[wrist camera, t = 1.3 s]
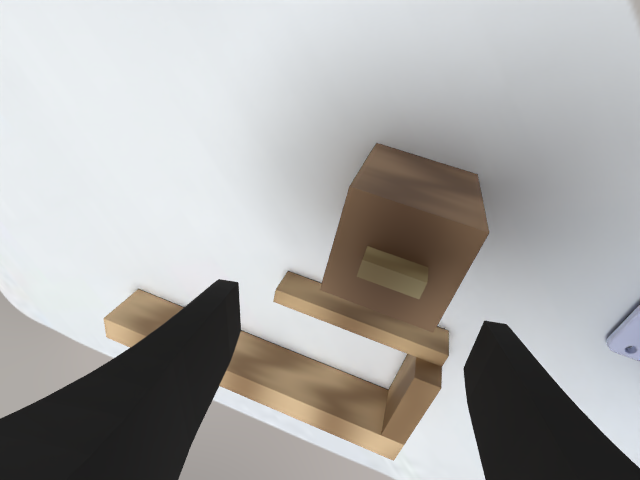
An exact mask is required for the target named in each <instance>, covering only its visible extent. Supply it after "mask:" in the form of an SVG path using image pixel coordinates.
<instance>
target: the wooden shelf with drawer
mask: <svg viewBox="0 0 640 480" xmlns="http://www.w3.org/2000/svg"><path fill="white" fill-rule="evenodd" d="M320 288H321V283H318V282H316V281H313V280H310V279H308V278H305V277H302V276H300V275H297V274H294V273H292V272H289V271H288V272H287V273H286V275H285V276H284V278H283V279H282V281H281V282H280V284H279V285H278V287H277V288H276V291H275V296H274V301H273V302H276V303H278V304H281V305H283V306H286V307H288V308H291V309H294V310H296V311H299V312H301V313H304V314H307V315H309V316H312V317H314V318H317V319H319V320H322V321H325V322H327V323H330V324H332V325H335V326H338V327H340V328H343V329H345V330H348V331H350V332H353V333H356V334H358V335H361V336H363V337H366V338H369V339H371V340H374V341H376V342H379V343H381V344H384V345H387V346H389V347H392V348H394V349H397V350H400V351H402V352H405V353H407V356H406V358H405V360H404V362H403V364H402V366H401V367H400V369H399V371H398V373H397V375H396V377H395V379H394V381H393V383H392V384H391V386H390V388H389V390H387V389H384V388H382V387H379V386H377V385H374V384H372V383H369V382H367V381H364V380H362V379H360V378H357V377H355V376H352V375H350V374H347V373H345V372H342V371H340V370H337V369H335V368H332V367H330V366H327V365H325V364H322V363H320V362H317V361H315V360H312V359H310V358H308V357H305V356H303V355H300V354H298V353H295V352H293V351H290V350H288V349H285V348H283V347H280V346H278V345H275V344H273V343H270V342H268V341H265V340H263V339H260V338H258V337H256V336H253V335H251V334H248V333H246V332H243V331H241V332H240V335H239V338H238V341H237V344H236V348H235V350H234V353H233V356H232V359H231V362H230V364H229V366H228V368H227V370H226V372H225V375H224V377H223V379H222V381H221V383H220V385H219V386H221V387H223V388H226V389H228V390H230V391H233V392H235V393H237V394H240V395H242V396H244V397H247V398H249V399H251V400H254V401H256V402H258V403H261V404H263V405H265V406H268V407H270V408H272V409H275V410H277V411H279V412H282V413H284V414H286V415H289V416H291V417H293V418H296V419H298V420H300V421H303V422H305V423H307V424H310V425H312V426H314V427H316V428H319V429H321V430H323V431H326V432H328V433H330V434H333V435H335V436H337V437H340V438H342V439H344V440H347V441H349V442H351V443H354V444H356V445H358V446H361V447H363V448H365V449H368V450H370V451H372V452H375V453H377V454H379V455H382V456H384V457H386V458H389V459H391V460H393V461H394V459H395V458H396V456H397V455H398V453H399V452H400V450H401V449H402V447H403V446H404V444H405V443H406V441H407V440H408V438H409V437H410V435H411V434H412V432H413V431H414V429H415V427H416V426H417V424H418V423H419V421H420V420H421V418H422V417H423V415H424V414H425V412H426V411H427V409H428V408H429V406H430V405H431V403H432V402H433V400H434V399H435V397H436V396H437V394H438V392H439V391H440V389H441V380H442V366H443V364H444V362H445V361H446V359H447V358H448V356H449V331H447V330H445V329H442V328H439V327H436V329H435V330H434V332H433V333H432V332H430V331H427V330H424V329H422V328H419V327H416V326H414V325H411V324H408V323H406V322H403V321H401V320H398V319H395V318H393V317H390V316H387V315H385V314H382V313H379V312H377V311H374V310H371V309H369V308H366V307H363V306H361V305H358V304H355V303H353V302H350V301H347V300H345V299H342V298H339V297H337V296H334V295H331V294H329V293H326V292H323V291H321V290H320ZM183 308H184V307H181V306H179V305H176V304H174V303H171V302H169V301H166V300H164V299H161V298H159V297H156V296H154V295H151V294H149V293H147V292H144V291H142V290H139V289H138V290H137V291H135V292H134V293H133V294H132V295H131V296H130V297H128V298H127V299H126V300H125V301H124V302H122V303H121V304H120V305H119V306H118V307H116V308H115V309H114V310H113V311H112V312H111V313H109V314H108V315H107V316H106V317H105V318H104V324H105V331H106V337H107V338H109V339H112V340H114V341H116V342H119V343H121V344H123V345H126V346H128V347H130V348H131V347H132V346H133V345H135V344H136V343H138V342H139V341H140V340H142V339H143V338H145V337H146V336H147V335H149V334H150V333H152V332H153V331H154V330H156V329H157V328H159V327H160V326H161V325H163V324H164V323H165V322H166V321H168V320H169V319H170V318H171V317H173V316H174V315H175V314H177V313H178V312H179V311H180V310H182V309H183Z"/></svg>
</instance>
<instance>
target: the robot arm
mask: <svg viewBox="0 0 640 480" xmlns="http://www.w3.org/2000/svg"><path fill="white" fill-rule="evenodd" d="M240 332H241V323H240V305H239V286H238V282H233V281H226V280H220V279H219V280H217V281H216V282H215V283H213V284H212V285H211V286H210V287H208V288H207V289H206V290H205V291H204V292H202V293H201V294H200V295H199V296H198V297H196V298H195V299H194V300H193V301H191V302H190V303H189V304H188V305H187V306H185V307H184V308H183V309H182V310H180V311H179V312H178V313H177V314H175V315H174V316H173V317H171V318H170V319H169V320H168V321H166V322H165V323H164V324H163V325H161V326H160V327H159V328H157V329H156V330H154V331H153V332H152V333H150V334H149V335H147V336H146V337H145V338H143V339H142V340H140V341H139V342H138V343H136V344H135V345H133V346H132V347H131V348H129V349H128V350H126V351H125V352H123V353H122V354H120V355H119V356H117V357H115V358H114V359H112V360H111V361H109V362H108V363H106V364H104V365H103V366H101V367H99V368H98V369H96V370H94V371H93V372H91V373H89V374H87V375H86V376H84V377H82V378H80V379H78V380H76V381H75V382H73V383H71V384H69V385H67V386H65V387H64V388H62V389H60V390H58V391H56V392H54V393H52V394H51V395H49V396H47V397H45V398H43V399H41V400H39V401H37V402H35V403H33V404H31V405H29V406H27V407H25V408H22V409H20V410H18V411H16V412H14V413H12V414H10V415H8V416H5V417H3V418H1V419H0V480H178V479H179V476H180V473H181V471H182V468H183V465H184V463H185V460H186V457H187V455H188V452H189V449H190V447H191V444H192V442H193V440H194V437H195V435H196V433H197V431H198V429H199V427H200V424H201V422H202V420H203V418H204V416H205V414H206V412H207V410H208V408H209V406H210V404H211V402H212V400H213V398H214V395H215V393H216V391H217V389H218V387H219V385H220V383H221V381H222V379H223V377H224V375H225V372H226V370H227V368H228V366H229V364H230V362H231V359H232V356H233V353H234V350H235V348H236V344H237V341H238V338H239V335H240ZM606 343H607V345H608V347H609V349H610V350H611V351H613V352H615V353H618V354H621V355H624V356H627V357H629V358H632V359H635V360H638V361H640V305H639V306H638V307H637V308H636V309H635V310H634V311H633V312H632V313H631V314H630V315H629V316H628V317H627V318H626V319H625V320H624V322H623V323H622V324H621V325H620V326H619V327H618V328H617V329H616V330H615V331H614V332H613V333H612V334H611V335H610V336H609V337H608V339H607V340H606ZM628 346H633V347H631V348H626V347H628ZM464 378H465V388H466V396H467V404H468V408H469V413H470V417H471V421H472V425H473V430H474V434H475V438H476V442H477V446H478V450H479V455H480V459H481V463H482V467H483V471H484V475H485V479H486V480H640V468H639V467H638V466H637V465H636V464H635V463H633V462H632V461H631V460H630V459H629V458H628V457H627V456H626V455H625V454H624V453H623V452H622V451H621V450H620V449H619V448H618V447H616V446H615V445H614V444H613V443H612V442H611V441H610V440H609V439H608V438H607V437H606V436H605V435H604V434H603V433H602V432H601V431H600V430H599V428H598V427H597V426H596V425H595V424H594V423H593V422H592V421H591V420H590V419H589V418H588V417H587V416H586V415H585V414H584V413H583V412H582V411H581V410H580V409H579V407H578V406H577V405H576V404H575V403H574V402H573V401H572V400H571V399H570V398H569V397H568V395H567V394H566V393H565V392H564V391H563V390H562V389H561V388H560V386H559V385H558V384H557V383H556V382H555V381H554V380H553V378H552V377H551V376H550V375H549V374H548V373H547V371H546V370H545V369H544V368H543V367H542V366H541V364H540V363H539V362H538V361H537V360H536V358H535V357H534V356H533V355H532V354H531V352H530V351H529V350H528V349H527V348H526V346H525V345H524V344H523V343H522V342H521V340H520V339H519V338H518V337H517V336H516V334H515V333H514V332H513V331H512V330H511V329H510V328H509V326H508V325H507V324H502V323H496V322H489V321H484V323H483V325H482V327H481V330H480V332H479V334H478V336H477V339H476V341H475V343H474V346H473V348H472V350H471V352H470V355H469V357H468V359H467V361H466V364H465V366H464Z"/></svg>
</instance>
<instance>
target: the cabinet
mask: <svg viewBox="0 0 640 480" xmlns="http://www.w3.org/2000/svg"><path fill="white" fill-rule="evenodd" d="M488 234H489V229H488V224H487V219H486V214H485V209H484V204H483V199H482V194H481V189H480V184H479V179H478V174H475V173H471V172H468V171H465V170H462V169H459V168H455V167H452V166H449V165H446V164H443V163H439V162H436V161H433V160H430V159H426V158H423V157H420V156H417V155H414V154H410V153H407V152H404V151H401V150H398V149H394V148H391V147H388V146H385V145H382V144H378V143H376V145H375V146H374V148H373V149H372V151H371V153H370V154H369V156H368V158H367V159H366V161H365V162H364V164H363V166H362V167H361V169H360V170H359V172H358V174H357V175H356V177H355V178H354V180H353V182H352V183H351V185H350V186H349V190H348V193H347V197H346V200H345V204H344V207H343V211H342V214H341V218H340V221H339V225H338V228H337V232H336V235H335V239H334V242H333V246H332V249H331V253H330V256H329V260H328V263H327V267H326V270H325V274H324V277H323V281H322V284H321V288H320V290H321V291H323V292H326V293H329V294H331V295H334V296H337V297H339V298H342V299H345V300H347V301H350V302H353V303H355V304H358V305H361V306H363V307H366V308H369V309H371V310H374V311H377V312H379V313H382V314H385V315H387V316H390V317H393V318H395V319H398V320H401V321H403V322H406V323H408V324H411V325H414V326H416V327H419V328H422V329H424V330H427V331H430V332H432V333H433V332H434V330H435V329H436V327H437V325H438V323H439V321H440V320H441V318H442V316H443V314H444V313H445V311H446V309H447V307H448V305H449V304H450V302H451V300H452V298H453V296H454V295H455V293H456V291H457V289H458V288H459V286H460V284H461V282H462V280H463V279H464V277H465V275H466V273H467V271H468V270H469V268H470V266H471V264H472V263H473V261H474V259H475V257H476V255H477V254H478V252H479V250H480V248H481V247H482V245H483V243H484V241H485V239H486V238H487V236H488Z"/></svg>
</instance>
